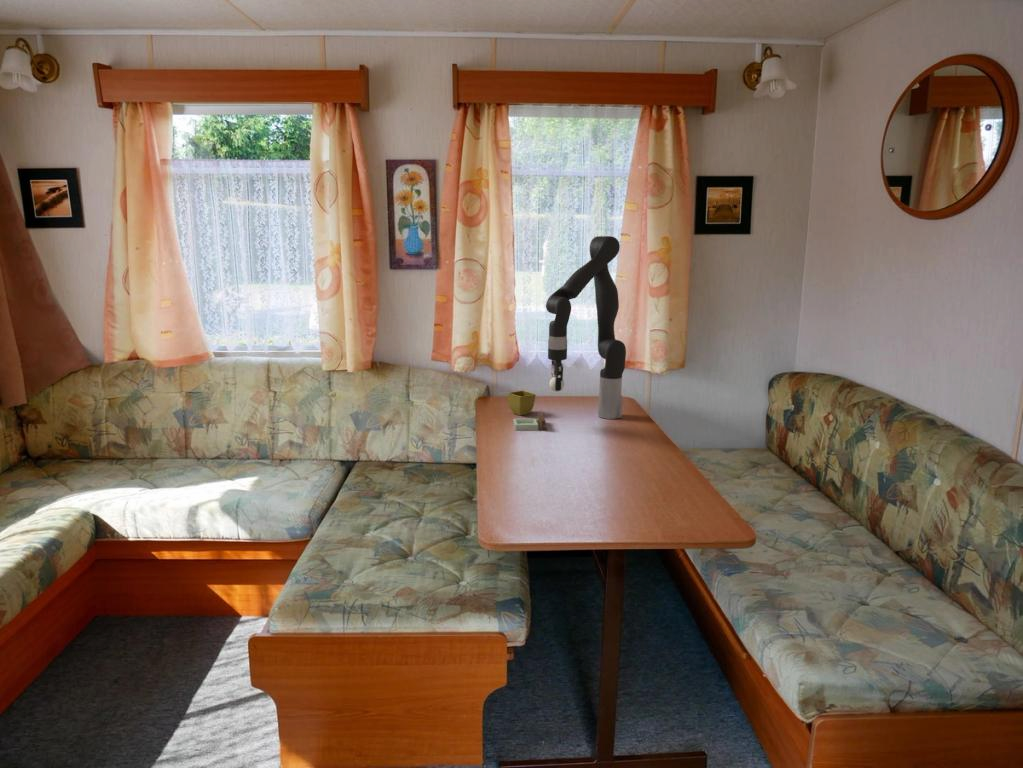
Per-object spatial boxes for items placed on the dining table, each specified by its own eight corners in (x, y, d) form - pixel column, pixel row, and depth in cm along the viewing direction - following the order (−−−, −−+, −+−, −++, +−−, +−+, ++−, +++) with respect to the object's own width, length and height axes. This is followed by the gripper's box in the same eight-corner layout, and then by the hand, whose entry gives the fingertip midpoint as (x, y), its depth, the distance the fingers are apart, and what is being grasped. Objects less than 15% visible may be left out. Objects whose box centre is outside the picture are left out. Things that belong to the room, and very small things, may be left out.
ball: (562, 389, 276) (563, 374, 274) (565, 392, 270) (565, 378, 268) (548, 389, 275) (548, 375, 274) (550, 393, 269) (550, 378, 268)
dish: (535, 423, 277) (535, 418, 277) (538, 429, 268) (538, 424, 268) (513, 423, 276) (513, 418, 276) (515, 430, 268) (515, 425, 267)
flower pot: (522, 410, 298) (522, 390, 296) (535, 414, 291) (536, 393, 289) (506, 413, 292) (507, 392, 290) (520, 417, 286) (520, 396, 284)
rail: (542, 422, 279) (543, 412, 279) (547, 430, 268) (547, 420, 267) (535, 422, 279) (535, 412, 278) (539, 430, 268) (539, 420, 267)
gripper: (570, 350, 262) (569, 392, 266) (563, 344, 276) (563, 384, 280) (551, 350, 261) (550, 393, 265) (545, 344, 275) (544, 384, 279)
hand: (556, 388), depth 272 cm, fingers closed on ball, 6 cm apart
